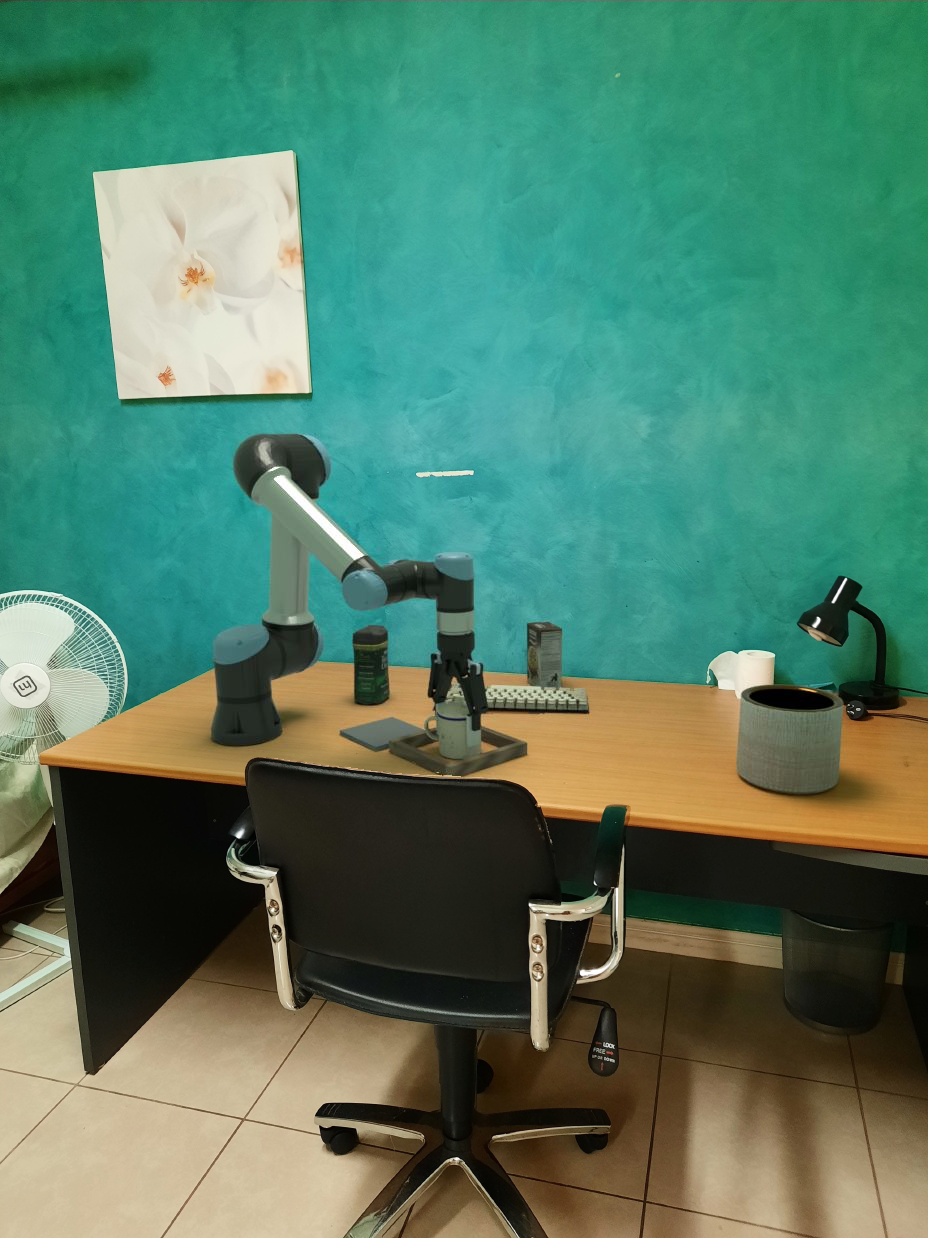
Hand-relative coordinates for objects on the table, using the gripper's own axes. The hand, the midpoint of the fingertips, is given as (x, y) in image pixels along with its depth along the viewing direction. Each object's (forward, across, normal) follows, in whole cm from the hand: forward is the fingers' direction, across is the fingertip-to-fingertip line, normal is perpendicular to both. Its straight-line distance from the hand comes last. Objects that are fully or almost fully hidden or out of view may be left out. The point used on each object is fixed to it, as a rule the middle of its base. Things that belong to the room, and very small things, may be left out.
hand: (457, 739), depth 171 cm
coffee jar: (+3, +43, -8) cm, 44 cm away
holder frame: (+3, 0, 0) cm, 3 cm away
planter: (+3, -51, -37) cm, 63 cm away
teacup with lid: (+3, +1, 0) cm, 3 cm away
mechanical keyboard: (+4, +18, -32) cm, 37 cm away
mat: (+3, +19, +5) cm, 20 cm away
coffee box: (+3, +23, -48) cm, 53 cm away
